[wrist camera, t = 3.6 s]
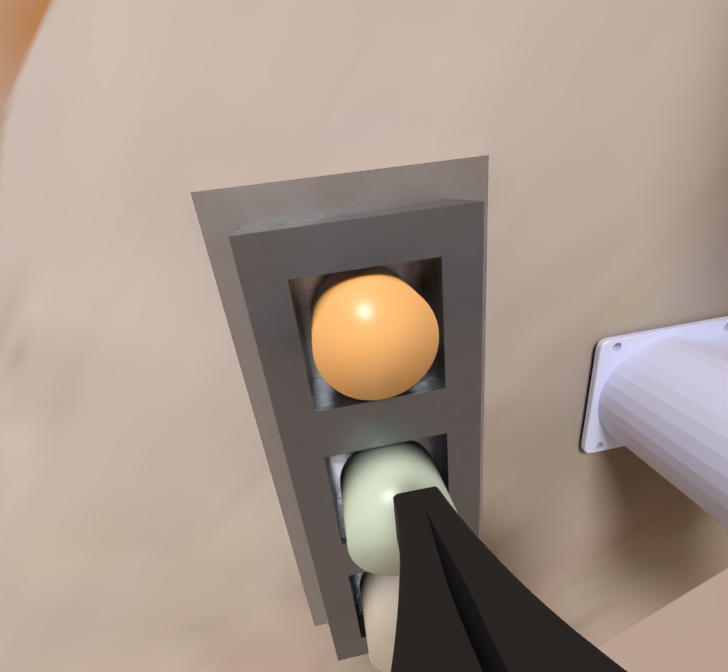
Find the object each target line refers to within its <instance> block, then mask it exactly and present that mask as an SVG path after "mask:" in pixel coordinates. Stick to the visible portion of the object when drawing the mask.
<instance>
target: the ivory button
mask: <svg viewBox="0 0 728 672" xmlns="http://www.w3.org/2000/svg"><path fill="white" fill-rule="evenodd" d="M360 594H361V601H362V608H363V616H364V623H365V630H366V637H367V645H368V652H369V659H370V662H371V663H372V665H373V666H374V667H375V668H376V669H378V670H379V671H381V672H391V666H392V659H393V651H394V643H395V633H396V623H397V611H398V597H399V576H381V575H376V574H373V573H370V572H364V573H363V575H362V577H361V579H360Z"/></svg>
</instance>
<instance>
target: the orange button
mask: <svg viewBox="0 0 728 672" xmlns="http://www.w3.org/2000/svg"><path fill="white" fill-rule="evenodd" d="M311 332H312V350H313V357H314V361H315V364H316V367H317V369H318V371H319V373H320V374H321V376H322V377H323V378H324V380H325V381H326V382H327V383H328V384H329V385H330V386H331V387H332V388H334V389H335V390H337V391H338V392H340V393H342V394H344V395H346V396H349V397H352V398H355V399H360V400H381V399H386V398H390V397H393V396H396V395H399V394H401V393H403V392H405V391H406V390H408V389H410V388H411V387H413V386H414V385H415V384H416V383H417V382H419V381H420V380H421V379H422V378H423V376H424V375H425V374H426V373H427V371H428V370H429V368H430V367H431V365H432V363H433V361H434V359H435V356H436V353H437V350H438V344H439V329H438V324H437V320H436V317H435V315H434V313H433V311H432V309H431V308H430V306H429V305H428V303H427V302H426V301H425V300H424V299H423V298H422V297H421V296H420V295H419V294H418V293H417V292H416V291H415V290H414V289H412V288H411V287H410V286H409V285H408V284H407V283H406V282H405V281H404V280H403V279H402V278H401V277H400V276H399V275H397V274H396V273H395V272H393V271H392V270H390V269H388V268H386V267H384V266H375V267H369V268H362V269H355V270H349V271H342V272H336V273H333V274H332V275H330V276H329V277H328V278H327V279H326V280H325V281H324V282H323V283H322V285H321V286H320V288H319V289H318V291H317V293H316V295H315V297H314V300H313V303H312V308H311Z"/></svg>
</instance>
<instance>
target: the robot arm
mask: <svg viewBox="0 0 728 672" xmlns="http://www.w3.org/2000/svg"><path fill="white" fill-rule="evenodd" d="M615 344H616V345H615ZM614 345H615V346H614ZM613 346H614V347H613ZM622 446H625V447H627V448H628V449H629V450H630V451H632V452H633V453H634V454H635V455H637V456H638V457H639V458H640V459H642V460H643V461H644V462H645V463H646V464H648V465H649V466H650V467H651V468H653V469H654V470H655V471H656V472H658V473H659V474H660V475H661V476H663V477H664V478H665V479H666V480H667V481H669V482H670V483H671V484H672V485H674V486H675V487H676V488H677V489H679V490H680V491H681V492H682V493H684V494H685V495H686V496H687V497H689V498H690V499H691V500H692V501H693V502H695V503H696V504H697V505H698V506H700V507H701V508H702V509H703V510H705V511H706V512H707V513H708V514H710V515H711V516H712V517H713V518H714V519H716V520H717V521H718V522H719V523H721V524H722V525H723V526H724V527H726V528H727V529H728V316H725V317H720V318H714V319H708V320H703V321H697V322H692V323H686V324H681V325H675V326H670V327H664V328H659V329H653V330H647V331H642V332H636V333H631V334H625V335H620V336H614V337H609V338H604V339H602V340H601V341H599V342H598V344H597V346H596V351H595V358H594V364H593V371H592V377H591V384H590V390H589V397H588V403H587V410H586V416H585V423H584V429H583V436H582V442H581V448H582V449H583V450H584V451H585V452H586V453H594V452H599V451H603V450H608V449H613V448H617V447H622ZM393 502H394V513H395V524H396V534H397V542H398V547H399V552H400V575H399V597H398V611H397V623H396V633H395V643H394V651H393V659H392V666H391V672H627V671H626V670H624V669H623V668H622V667H620V666H619V665H618V664H617V663H615V662H614V661H613V660H611V659H610V658H609V657H607V656H606V655H605V654H604V653H603V652H601V651H600V650H599V649H598V648H596V647H595V646H594V645H593V644H591V643H590V642H589V641H587V640H586V639H585V638H584V637H582V636H581V635H580V634H579V633H577V632H576V631H575V630H574V629H572V628H571V627H570V626H569V625H568V624H567V623H565V622H564V621H563V620H562V619H561V618H560V617H558V616H557V615H556V614H555V613H554V612H553V611H552V610H550V609H549V608H548V607H547V606H546V605H545V604H544V603H543V602H542V601H540V600H539V599H538V598H537V597H536V596H535V595H534V594H533V593H532V592H531V591H530V590H528V589H527V588H526V587H525V586H524V585H523V584H522V583H521V582H520V581H519V580H518V579H517V578H516V577H515V576H514V575H513V574H512V573H511V572H510V571H509V570H508V569H507V568H506V567H505V566H504V565H503V564H502V563H501V562H500V561H499V560H498V559H497V558H496V557H495V555H494V554H493V553H492V552H491V551H490V550H489V549H488V548H487V547H486V546H485V545H484V543H483V542H482V541H481V540H480V539H479V538H478V537H477V536H476V535H475V533H474V532H473V531H472V530H471V529H470V528H469V527H468V525H467V524H466V523H465V522H464V521H463V519H462V518H461V517H460V516H459V514H458V513H457V512H456V511H455V510H454V508H453V507H452V506H451V504H450V503H449V502H448V500H447V499H446V498H445V496H444V495H443V494H442V492H441V491H440V489H439V488H437V487H436V486H434V487H429V488H424V489H419V490H414V491H408V492H403V493H398V494H396V495H395V496H394V497H393Z"/></svg>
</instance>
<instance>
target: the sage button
mask: <svg viewBox="0 0 728 672" xmlns="http://www.w3.org/2000/svg"><path fill="white" fill-rule="evenodd" d="M434 486H436V487H437V488H439V489H440V491H441V492H442V494H443V495H444V496H445V498H446V499H447V500H448V502H449V503H450V504H451V506H452V507H453V508H454V510H455V511H456V512H457V510H456V508H455V506H454V504H453V502H452V500H451V498H450V495H449V493H448V491H447V489H446V487H445V485H444V483H443V481H442V478H441V476H440V474H439V472H438V470H437V468H436V466H435V463H434V461H433V459H432V457H431V455H430V453H429V452H428V451H427V449H426V448H425V447H423V446H422V445H421V444H419V443H418V442H416V441H414V440H410V441H405V442H400V443H395V444H390V445H385V446H380V447H375V448H370V449H365V450H360V451H355V452H354V453H353V454H352V455H351V456H350V457H349V458H348V460H347V461H346V462H345V464H344V466H343V468H342V471H341V475H340V488H341V496H342V505H343V513H344V522H345V530H346V539H347V547H348V552H349V555H350V557H351V558H352V560H353V561H354V562H355V564H357V565H358V566H359V567H360V568H362V569H363V570H365V571H367V572H370V573H373V574H376V575H381V576H399V575H400V552H399V547H398V542H397V534H396V524H395V513H394V502H393V497H394V496H395V495H396V494H398V493H403V492H408V491H414V490H419V489H424V488H429V487H434Z"/></svg>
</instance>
